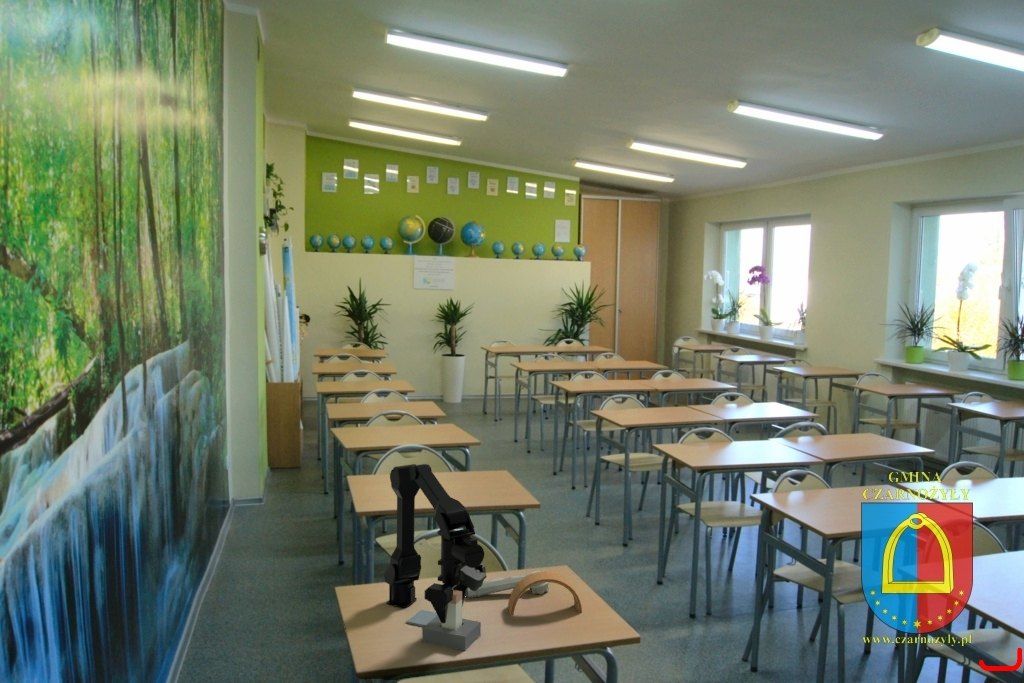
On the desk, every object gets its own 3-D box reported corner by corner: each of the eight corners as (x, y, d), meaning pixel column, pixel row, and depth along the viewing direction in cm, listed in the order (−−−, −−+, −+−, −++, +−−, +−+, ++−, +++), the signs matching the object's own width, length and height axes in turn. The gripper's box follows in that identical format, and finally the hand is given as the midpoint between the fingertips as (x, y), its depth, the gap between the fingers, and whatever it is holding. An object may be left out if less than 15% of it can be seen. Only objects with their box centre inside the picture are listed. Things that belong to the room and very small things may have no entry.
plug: (441, 639, 189) (441, 593, 188) (447, 634, 192) (448, 588, 192) (455, 642, 188) (456, 596, 187) (461, 637, 191) (462, 591, 190)
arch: (508, 606, 210) (508, 572, 209) (577, 604, 212) (578, 570, 212) (510, 615, 204) (510, 580, 204) (582, 613, 206) (582, 578, 206)
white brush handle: (462, 581, 218) (544, 564, 224) (465, 602, 219) (547, 585, 224) (465, 588, 213) (549, 570, 218) (468, 610, 214) (551, 592, 219)
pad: (406, 623, 198) (406, 621, 198) (421, 611, 206) (421, 609, 206) (433, 628, 195) (433, 626, 195) (447, 616, 203) (447, 614, 203)
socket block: (422, 641, 188) (422, 627, 188) (439, 626, 196) (439, 613, 196) (465, 650, 184) (465, 636, 183) (480, 635, 192) (480, 622, 192)
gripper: (464, 573, 177) (464, 637, 178) (496, 548, 194) (495, 607, 195) (423, 566, 181) (423, 628, 182) (457, 542, 198) (457, 599, 200)
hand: (451, 615), depth 190 cm, fingers open, 9 cm apart
